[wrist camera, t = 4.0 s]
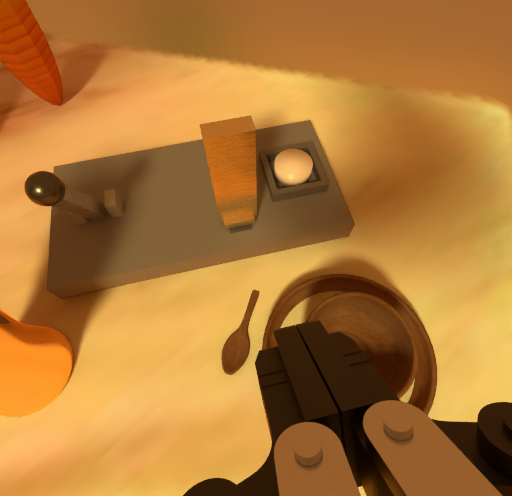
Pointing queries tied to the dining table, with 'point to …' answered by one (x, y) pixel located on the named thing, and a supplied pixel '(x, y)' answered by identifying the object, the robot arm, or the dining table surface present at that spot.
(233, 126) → the block
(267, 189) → the switch panel
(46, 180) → the toggle lever
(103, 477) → the dining table surface
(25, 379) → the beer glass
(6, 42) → the carrot
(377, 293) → the place setting
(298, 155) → the push button
